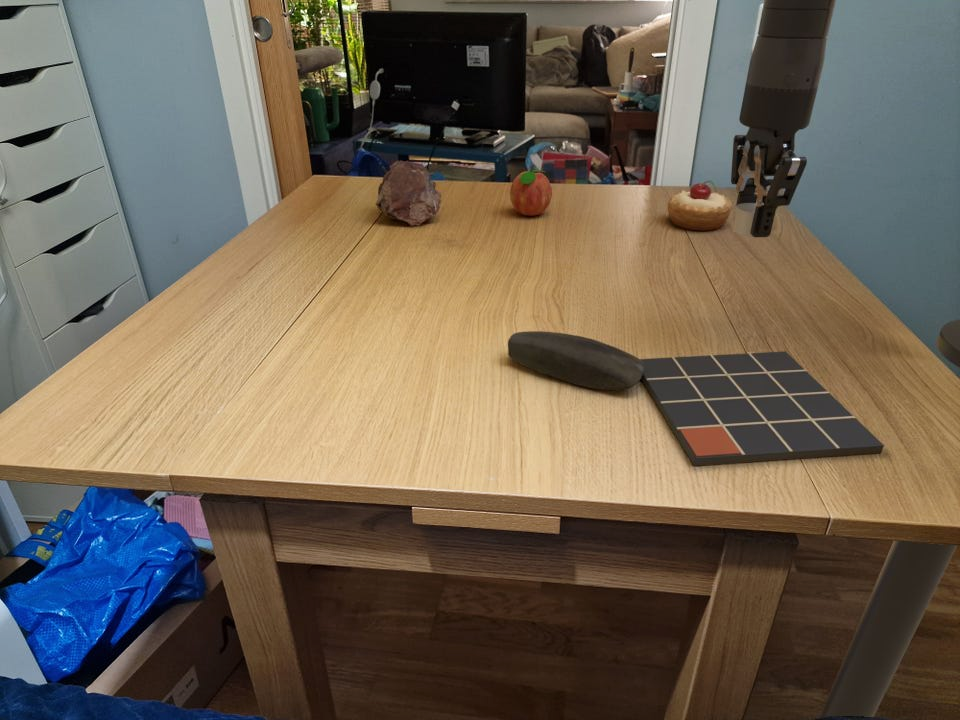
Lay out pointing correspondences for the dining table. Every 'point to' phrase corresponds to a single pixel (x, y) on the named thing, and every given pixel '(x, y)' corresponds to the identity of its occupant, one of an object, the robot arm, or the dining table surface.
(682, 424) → the board
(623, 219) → the dining table surface
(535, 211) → the fruit
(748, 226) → the white short cylinder
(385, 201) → the mineral specimen
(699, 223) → the pastry
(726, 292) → the dining table surface
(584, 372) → the dark glasses case
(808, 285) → the dining table surface
